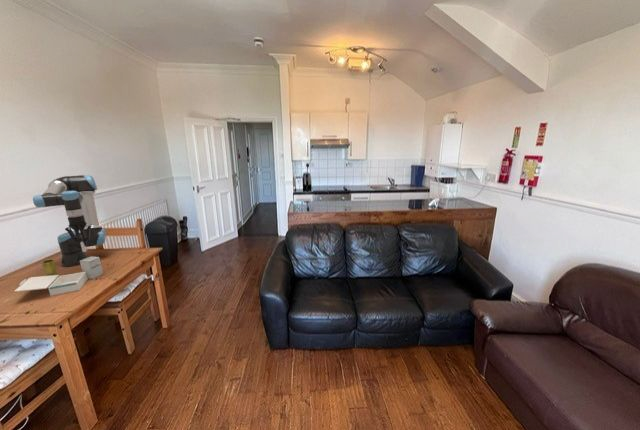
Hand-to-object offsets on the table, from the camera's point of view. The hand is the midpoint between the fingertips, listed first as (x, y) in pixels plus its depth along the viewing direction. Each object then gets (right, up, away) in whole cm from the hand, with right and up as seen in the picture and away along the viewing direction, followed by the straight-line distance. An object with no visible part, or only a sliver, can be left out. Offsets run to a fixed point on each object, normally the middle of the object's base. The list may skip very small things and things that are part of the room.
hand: (84, 251), depth 170 cm
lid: (-14, -15, -15) cm, 26 cm away
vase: (-19, -20, -1) cm, 27 cm away
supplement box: (+1, -18, +6) cm, 19 cm away
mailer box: (-2, -21, -8) cm, 23 cm away
